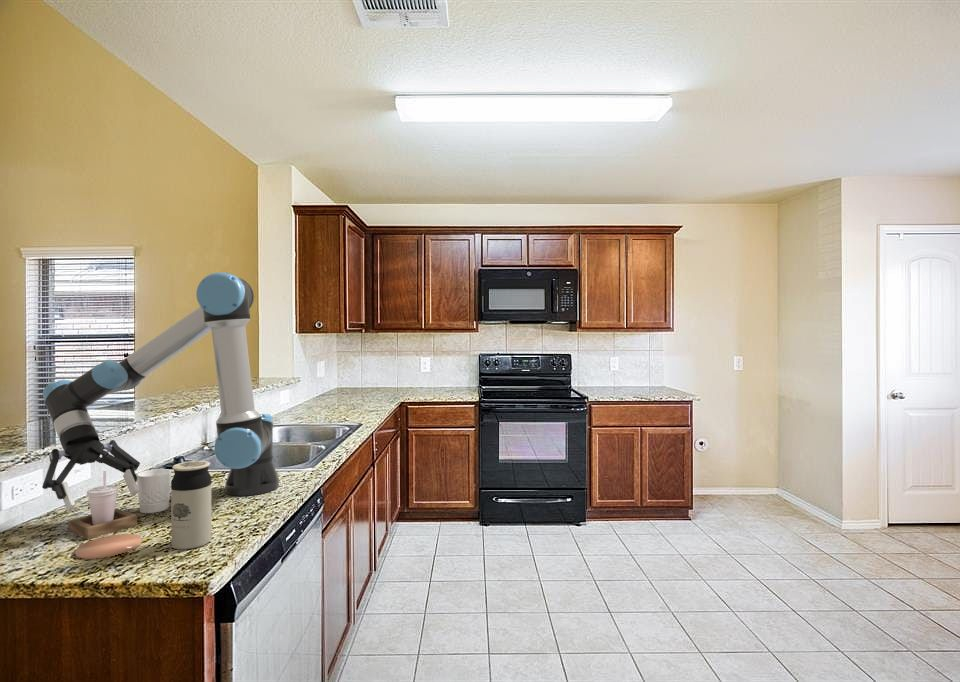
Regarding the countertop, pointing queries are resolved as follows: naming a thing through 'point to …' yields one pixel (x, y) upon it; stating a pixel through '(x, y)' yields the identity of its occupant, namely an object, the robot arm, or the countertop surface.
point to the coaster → (108, 546)
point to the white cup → (154, 490)
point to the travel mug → (190, 505)
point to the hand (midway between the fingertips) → (105, 500)
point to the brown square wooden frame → (88, 531)
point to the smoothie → (102, 502)
